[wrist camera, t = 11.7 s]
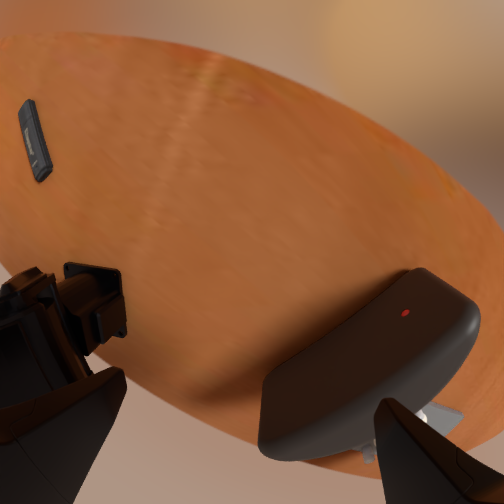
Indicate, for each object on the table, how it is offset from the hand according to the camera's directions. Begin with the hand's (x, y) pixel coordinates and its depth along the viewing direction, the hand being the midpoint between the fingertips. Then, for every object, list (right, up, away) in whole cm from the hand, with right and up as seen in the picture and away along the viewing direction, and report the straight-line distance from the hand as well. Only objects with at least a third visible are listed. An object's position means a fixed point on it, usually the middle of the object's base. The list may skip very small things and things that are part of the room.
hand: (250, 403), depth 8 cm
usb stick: (-21, +16, +12) cm, 29 cm away
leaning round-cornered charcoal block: (+7, -1, +13) cm, 15 cm away
